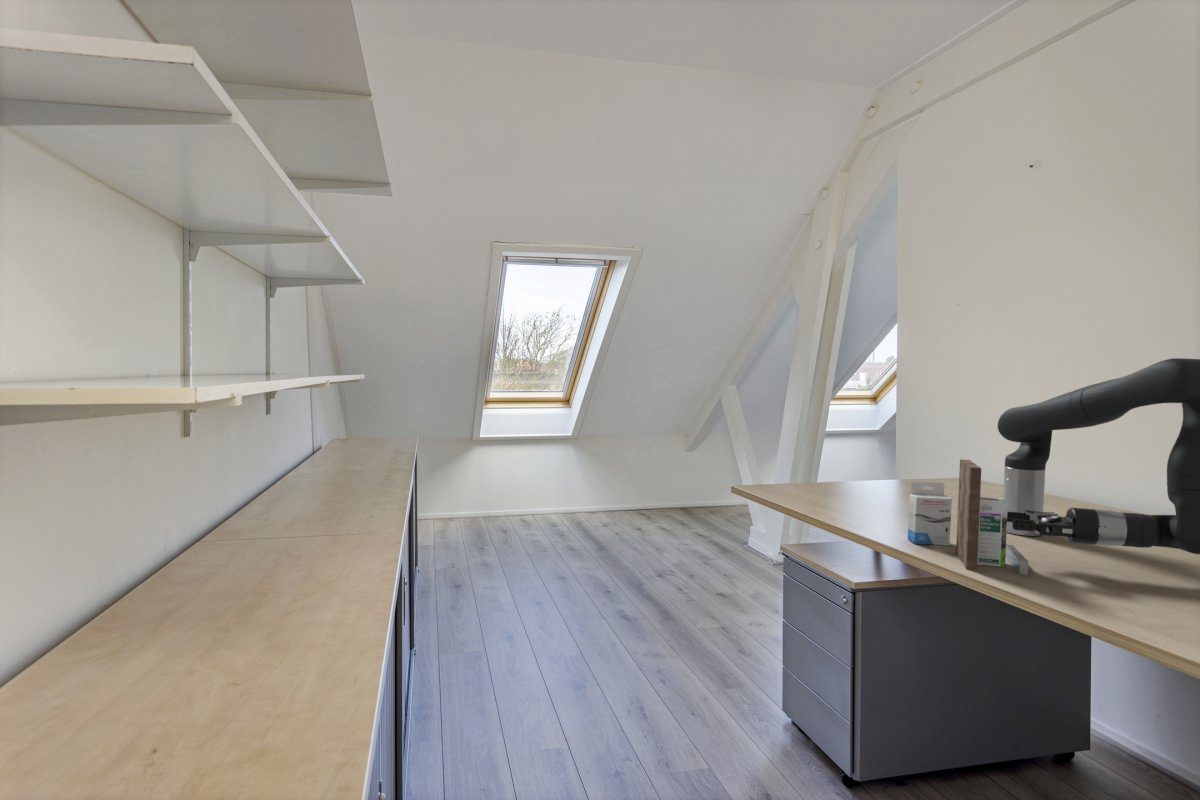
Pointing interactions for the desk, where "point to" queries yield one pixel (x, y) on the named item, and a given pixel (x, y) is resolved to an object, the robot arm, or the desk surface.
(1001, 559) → the syrup box
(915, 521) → the ink box
